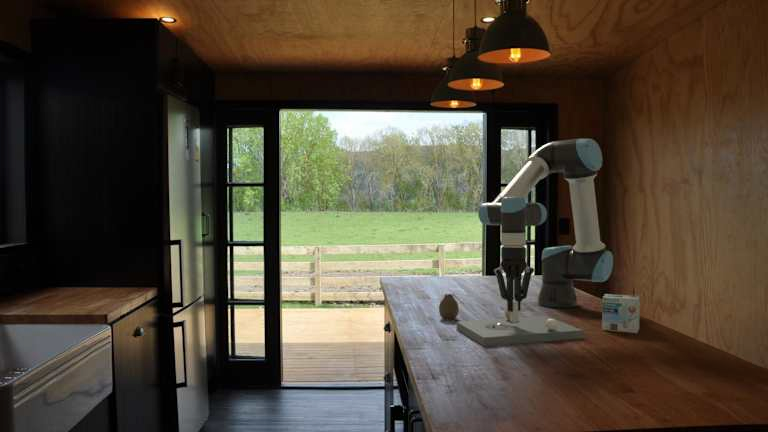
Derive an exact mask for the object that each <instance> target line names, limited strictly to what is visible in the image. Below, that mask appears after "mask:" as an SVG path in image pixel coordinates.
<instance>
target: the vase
mask: <svg viewBox="0 0 768 432" xmlns="http://www.w3.org/2000/svg"><path fill="white" fill-rule="evenodd" d="M438 311H439V315H440V317H441V318H442V320H444V321H454V320H455V319H457V317H458V315H459V304H458V302H457V300H456V299H455V298H454V295H453V294H451V293H446V294H444V297H443V298H442V300H441V301H440V303H439V306H438Z"/></svg>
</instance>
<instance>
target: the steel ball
mask: <svg viewBox="0 0 768 432" xmlns="http://www.w3.org/2000/svg"><path fill="white" fill-rule="evenodd" d="M494 328H496V329H505V328H506V327H505V325H504V324H502V323H497V324H496V325H495V327H494Z"/></svg>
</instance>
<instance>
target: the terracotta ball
mask: <svg viewBox="0 0 768 432" xmlns="http://www.w3.org/2000/svg"><path fill="white" fill-rule="evenodd" d="M504 316H505V319H509V320H510V311H508V310H507V309H506V310H505V311H504Z"/></svg>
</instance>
